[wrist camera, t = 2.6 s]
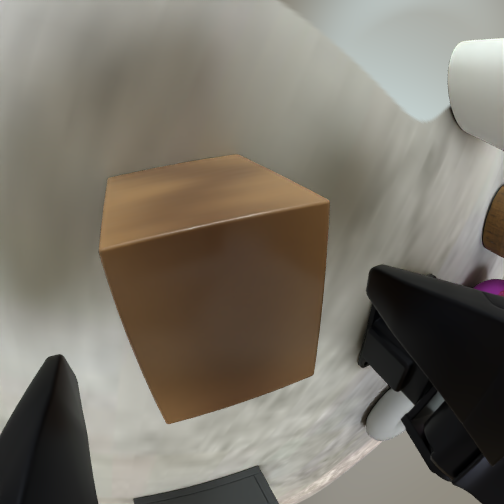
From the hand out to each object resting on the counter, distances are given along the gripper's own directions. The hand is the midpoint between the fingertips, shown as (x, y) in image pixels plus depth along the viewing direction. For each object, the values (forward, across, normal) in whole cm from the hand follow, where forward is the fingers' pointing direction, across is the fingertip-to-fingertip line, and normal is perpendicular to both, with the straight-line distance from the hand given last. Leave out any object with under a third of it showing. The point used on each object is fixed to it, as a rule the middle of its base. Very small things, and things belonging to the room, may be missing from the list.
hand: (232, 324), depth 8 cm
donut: (+6, -19, +24) cm, 31 cm away
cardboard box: (+6, 0, 0) cm, 6 cm away
